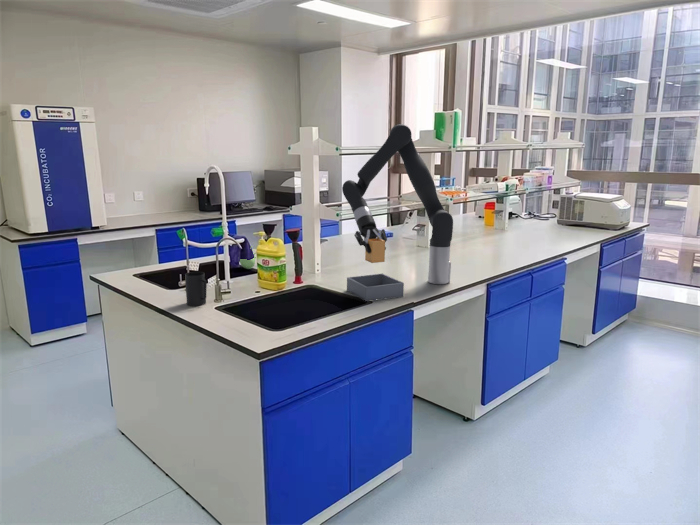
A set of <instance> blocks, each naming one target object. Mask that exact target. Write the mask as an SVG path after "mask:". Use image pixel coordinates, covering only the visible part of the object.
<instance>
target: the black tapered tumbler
mask: <svg viewBox="0 0 700 525" xmlns="http://www.w3.org/2000/svg"><path fill="white" fill-rule="evenodd" d="M184 277H185V278H184V279H185V280H184V282H185V294H186V295H185V296H186V305H187V306H189V307H200V306H203V305H206V304H207V285H208V284H207V283H208V282H207V281H208V280H206V278H205V272H203V271H189V272H186V273H185V274H184Z"/></svg>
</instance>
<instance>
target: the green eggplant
mask: <svg viewBox="0 0 700 525" xmlns="http://www.w3.org/2000/svg"><path fill="white" fill-rule="evenodd" d="M250 246H251V247H250V248H252V247H254V246H253V245H250ZM254 250H255V248H253V249H252V251H253V254H254V258H253V259H251V260H247V259H240V261H239V264H240V265H241V267H242V268H244V269H246V270H251V269H253V268H254V266H255V264H256V259H257V257H256V252H254Z"/></svg>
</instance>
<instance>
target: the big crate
mask: <svg viewBox="0 0 700 525" xmlns="http://www.w3.org/2000/svg"><path fill="white" fill-rule="evenodd" d="M404 285H405V284H404V282H403V281H400V280H398V279H395V278H394V277H391V276H390V275H387V274H384V273H374V274H363V275H355V276H348V277H346V291H348V292H349V293H350V292H351V293H350V294H352V295H354V296H356V297H357V296H358V297H357V298H359V297H360V298H359V299H361V298H362V299H361V300H363V301H364V300H365V301H364V302H366V301H367V302H370V301H369V300H374V301H377V300H376V299H381V300H386V299H385V298H388V299H394V297H395V298H399V297H400V298H401V297H404V290H405V288H404V287H405V286H404Z"/></svg>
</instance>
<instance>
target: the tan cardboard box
mask: <svg viewBox="0 0 700 525" xmlns="http://www.w3.org/2000/svg"><path fill="white" fill-rule="evenodd" d="M368 244H369V245H370V248H371V253H368V252H367V251H366V249H365V248H364V249H365V251H364V252H365V253H364V254H365V257H364V259H365V260H364V261H366V262H368V263H371V264H378V263H385V262H386V261H385V260H386V256H385V255H386V250H385V247H386V242H385V240H382V239H378V240H377V237H376V238H375V239H369V240H368Z"/></svg>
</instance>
